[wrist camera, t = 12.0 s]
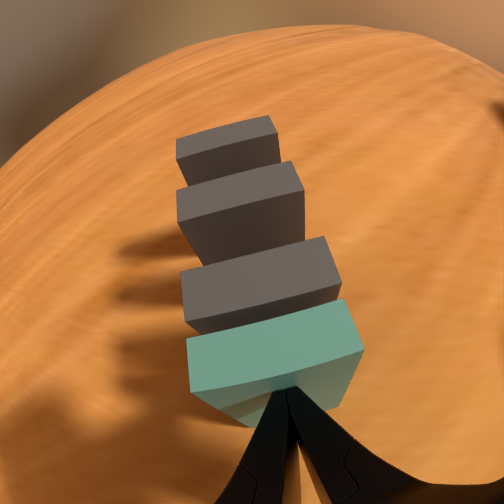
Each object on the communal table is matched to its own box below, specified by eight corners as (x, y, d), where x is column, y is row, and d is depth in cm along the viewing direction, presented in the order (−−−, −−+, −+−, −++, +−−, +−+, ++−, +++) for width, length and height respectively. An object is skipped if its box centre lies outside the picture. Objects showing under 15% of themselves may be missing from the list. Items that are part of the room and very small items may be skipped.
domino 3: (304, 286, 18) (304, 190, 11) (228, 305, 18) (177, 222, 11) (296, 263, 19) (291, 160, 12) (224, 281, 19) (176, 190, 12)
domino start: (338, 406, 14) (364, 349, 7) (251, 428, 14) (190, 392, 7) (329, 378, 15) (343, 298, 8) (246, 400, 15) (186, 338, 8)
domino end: (288, 237, 20) (277, 132, 13) (220, 254, 20) (175, 159, 13) (281, 218, 21) (268, 115, 14) (217, 234, 21) (176, 139, 14)
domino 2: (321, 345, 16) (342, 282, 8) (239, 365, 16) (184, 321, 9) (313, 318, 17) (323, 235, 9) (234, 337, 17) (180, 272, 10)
